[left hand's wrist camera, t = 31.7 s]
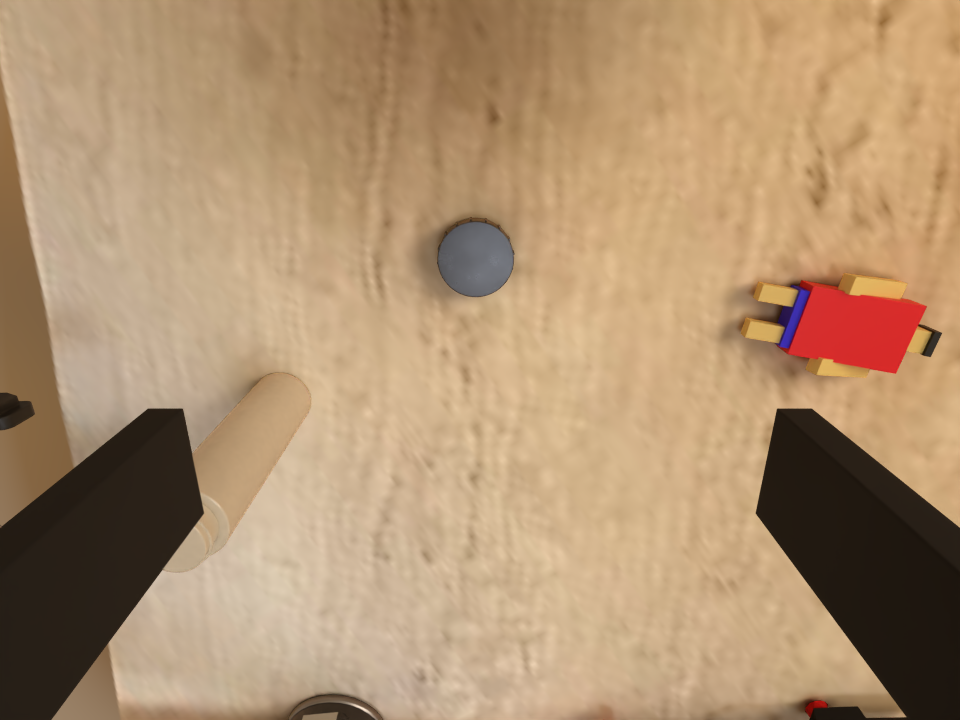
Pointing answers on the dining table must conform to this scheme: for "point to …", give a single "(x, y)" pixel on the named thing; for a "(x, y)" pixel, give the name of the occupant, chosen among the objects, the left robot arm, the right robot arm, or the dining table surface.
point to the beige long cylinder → (240, 462)
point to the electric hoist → (838, 713)
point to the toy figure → (845, 325)
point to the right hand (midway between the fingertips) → (45, 482)
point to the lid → (475, 257)
